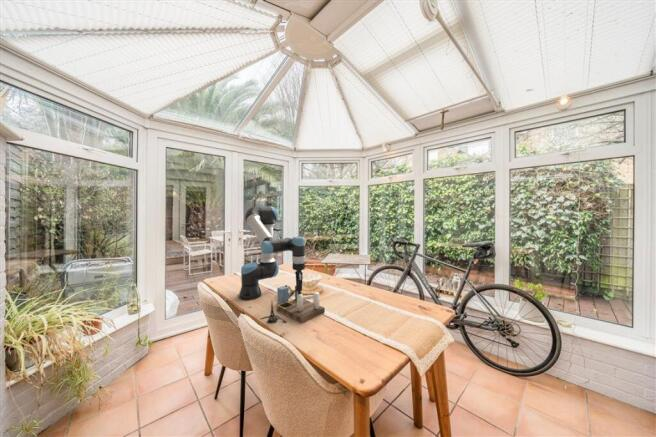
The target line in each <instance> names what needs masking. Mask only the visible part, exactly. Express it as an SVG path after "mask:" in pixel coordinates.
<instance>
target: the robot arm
mask: <svg viewBox="0 0 656 437" xmlns="http://www.w3.org/2000/svg"><path fill="white" fill-rule="evenodd" d="M244 220H245V223H246V224H247V226H250V227H251V229H252V230H253V232H254V234H255V235H256V236H257V238H258V240H259V241H260V250H261V259H260V260H259V263H258V262H256V261H254V262H253V261H252V262H249V263H248V262H247V263H245V264H243V265H242V266H241V269H240V270H241V272H240V274H241V275H240V276H241V278H240V279H241V287H240V290H239V297H238V298H239V299H240V298H241V299H240V300H243V301H244V300H245V301H250V300H256V299H258V298H260V297H261V296H262V290H261V287H260V285H259V283H260V282H259V281H260V280H261V281H262V280H265V279H271V278H274V277H277V275H278V274H279V270H280V268H279V262H278V261H276V258H274V254H275V253H282V252H288V251H289V252H292V255H291V256H292V259H291V260H292V270H294V271H295V272H294V273H295V283H296V284H295V286H296V288H297V290H296V291H297V295H298V294H302V291H303V278H304V276H303V275H304V274H303V272H302V271H304V270H305V269H306V263H305V262H306V258H307V257H306V242H305V240H306V238H305V237H304V236H292V238H291V237H284V238H281V239H275V238H274V226H275V225H276V222H277V221H278V220H279V213H278V210H277V208H276V207H275V206H271V205H270V206H269V205H268V206H267V205H266V206H265V205H263V206H260V205H259V206H252V207H250V208H248V209H247V210H246V212H245V215H244ZM302 295H303V294H302Z"/></svg>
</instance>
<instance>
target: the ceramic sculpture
mask: <svg viewBox="0 0 656 437" xmlns="http://www.w3.org/2000/svg"><path fill="white" fill-rule="evenodd" d="M284 286H285V287H288V298H290V296H291V295H295V289H292V287H291V286H290V285H287V284H285V285H284Z"/></svg>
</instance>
